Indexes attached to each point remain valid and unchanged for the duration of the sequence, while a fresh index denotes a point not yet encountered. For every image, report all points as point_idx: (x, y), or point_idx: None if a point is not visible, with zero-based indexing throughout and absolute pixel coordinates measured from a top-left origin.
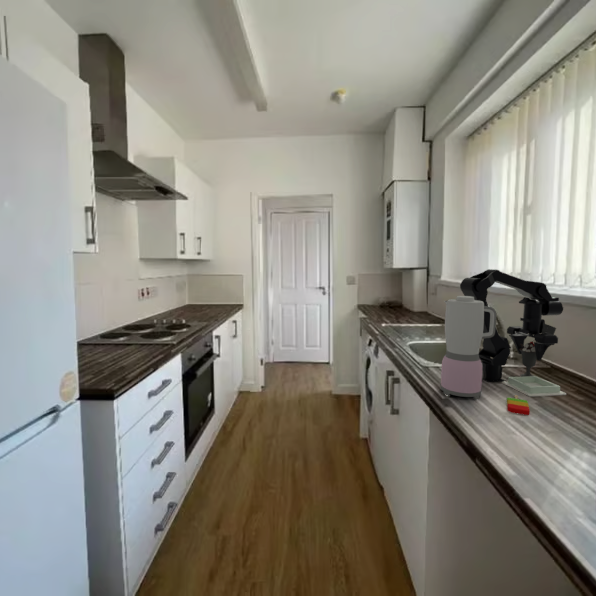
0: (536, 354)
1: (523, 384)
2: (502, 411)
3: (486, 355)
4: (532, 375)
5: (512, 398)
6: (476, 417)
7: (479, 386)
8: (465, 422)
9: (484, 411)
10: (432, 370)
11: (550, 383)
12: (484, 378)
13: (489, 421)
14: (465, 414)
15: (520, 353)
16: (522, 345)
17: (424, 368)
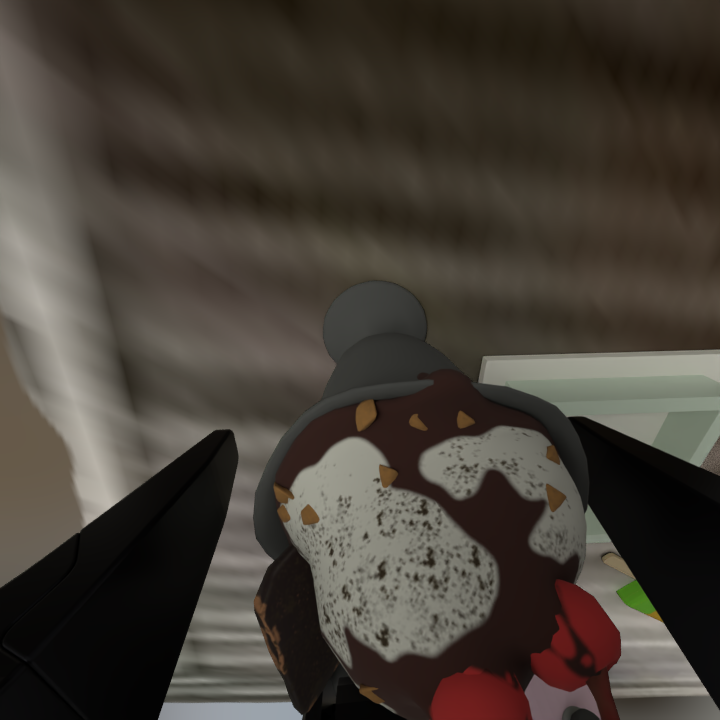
0: (624, 540)
1: (602, 540)
2: (663, 626)
3: (328, 698)
4: (378, 297)
5: (648, 602)
6: (650, 671)
7: (594, 699)
8: (655, 688)
9: (636, 653)
10: (246, 662)
11: (674, 411)
12: (596, 717)
13: (682, 661)
14: (625, 680)
15: (236, 454)
16: (314, 648)
17: (218, 674)
